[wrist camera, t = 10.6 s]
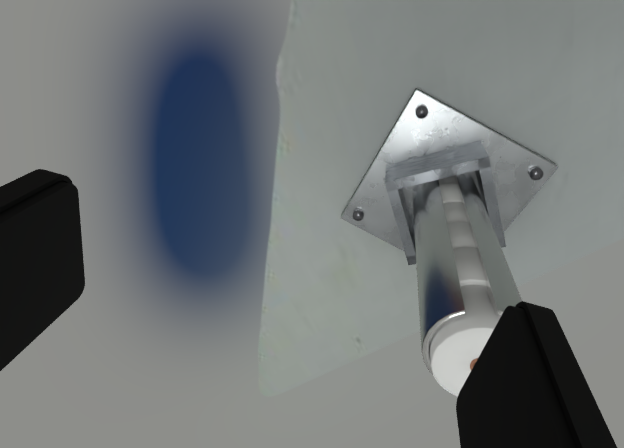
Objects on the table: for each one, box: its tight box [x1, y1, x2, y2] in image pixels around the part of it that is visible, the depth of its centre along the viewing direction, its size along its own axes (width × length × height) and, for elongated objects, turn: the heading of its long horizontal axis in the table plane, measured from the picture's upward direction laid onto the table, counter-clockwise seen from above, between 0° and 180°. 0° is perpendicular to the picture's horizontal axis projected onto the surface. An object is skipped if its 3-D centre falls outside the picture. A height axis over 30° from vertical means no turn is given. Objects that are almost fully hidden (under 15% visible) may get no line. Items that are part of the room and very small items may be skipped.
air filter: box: [412, 172, 522, 396], centre depth 35 cm, size 6×6×25 cm
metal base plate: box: [341, 88, 558, 265], centre depth 45 cm, size 16×16×6 cm
